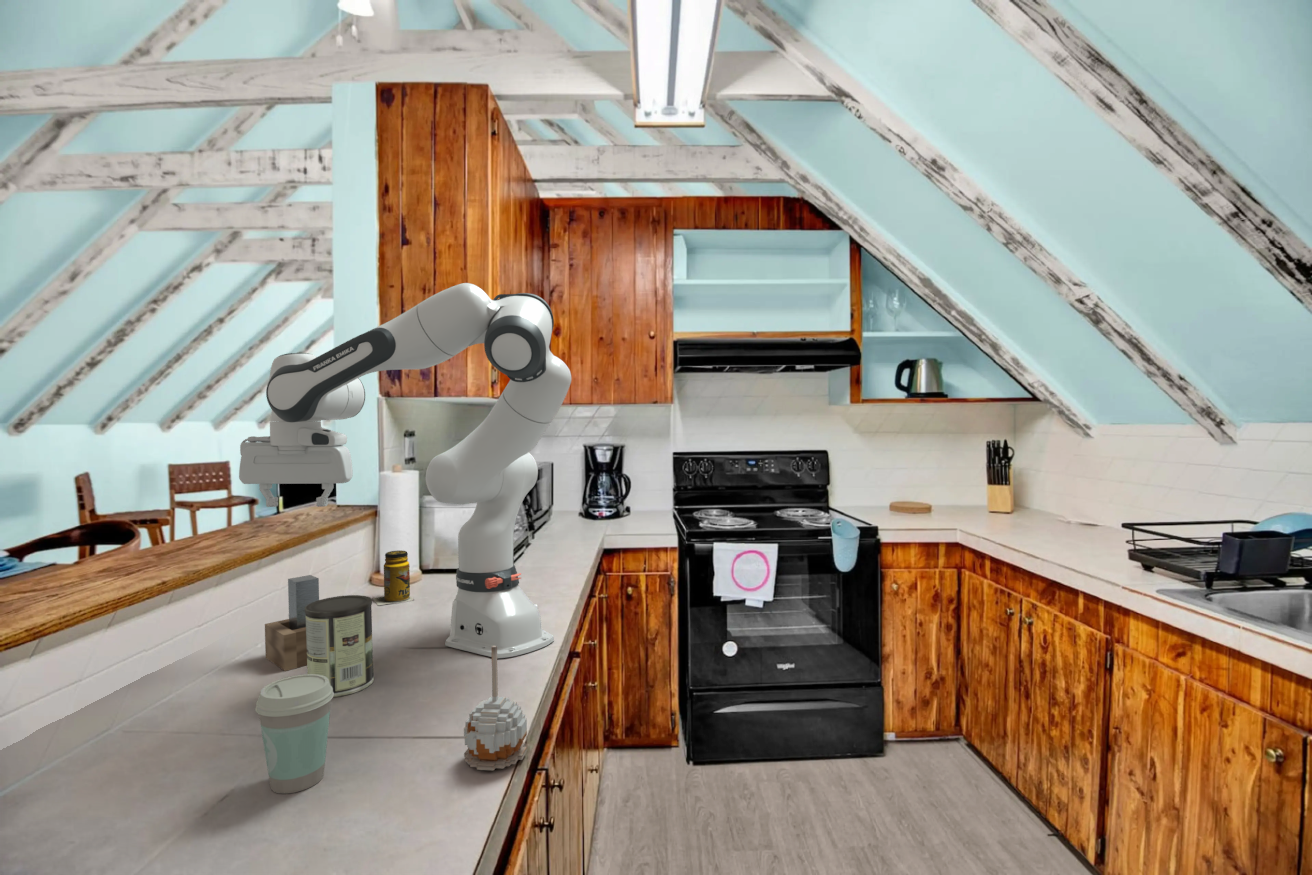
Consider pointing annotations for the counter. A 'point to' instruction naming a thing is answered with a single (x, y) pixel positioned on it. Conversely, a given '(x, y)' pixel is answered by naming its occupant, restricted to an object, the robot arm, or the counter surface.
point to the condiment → (395, 579)
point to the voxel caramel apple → (495, 730)
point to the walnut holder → (285, 645)
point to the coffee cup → (295, 730)
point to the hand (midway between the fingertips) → (297, 506)
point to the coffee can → (341, 642)
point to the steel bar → (301, 598)
